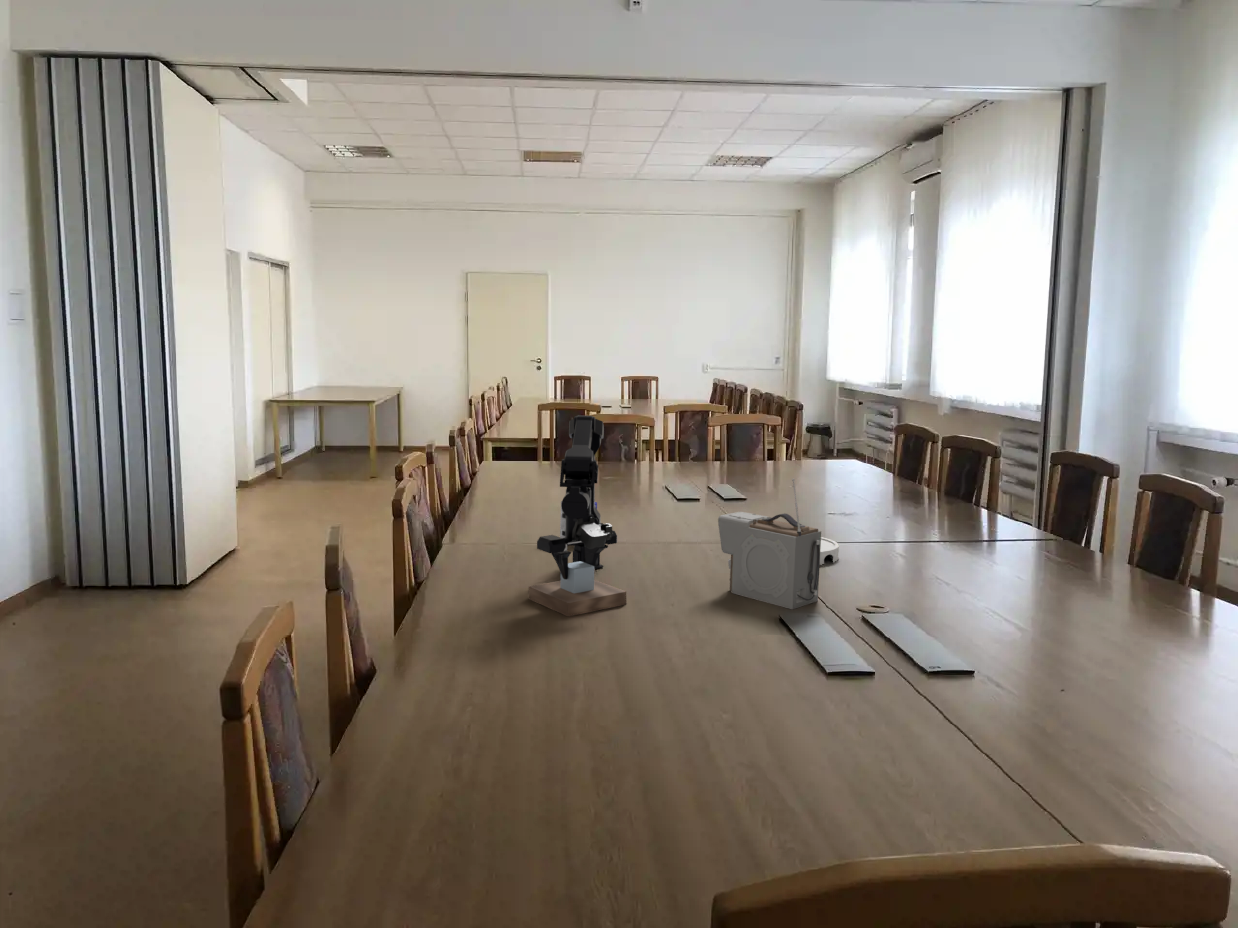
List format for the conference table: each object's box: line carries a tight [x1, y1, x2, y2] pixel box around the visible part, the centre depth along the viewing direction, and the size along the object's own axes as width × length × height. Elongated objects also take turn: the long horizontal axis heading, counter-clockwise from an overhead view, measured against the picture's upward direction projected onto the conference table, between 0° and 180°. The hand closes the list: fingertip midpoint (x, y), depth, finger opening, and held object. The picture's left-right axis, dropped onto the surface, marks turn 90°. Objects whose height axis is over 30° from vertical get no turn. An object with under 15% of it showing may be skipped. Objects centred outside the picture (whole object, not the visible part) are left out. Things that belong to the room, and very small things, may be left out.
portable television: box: [717, 478, 822, 610], centre depth 213 cm, size 12×24×30 cm, turn 44°
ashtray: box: [820, 536, 840, 566], centre depth 256 cm, size 23×23×4 cm
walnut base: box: [528, 578, 627, 617], centre depth 207 cm, size 16×16×3 cm
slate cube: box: [560, 561, 595, 593], centre depth 207 cm, size 6×6×6 cm
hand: (577, 576), depth 207 cm, fingers open, 6 cm apart
